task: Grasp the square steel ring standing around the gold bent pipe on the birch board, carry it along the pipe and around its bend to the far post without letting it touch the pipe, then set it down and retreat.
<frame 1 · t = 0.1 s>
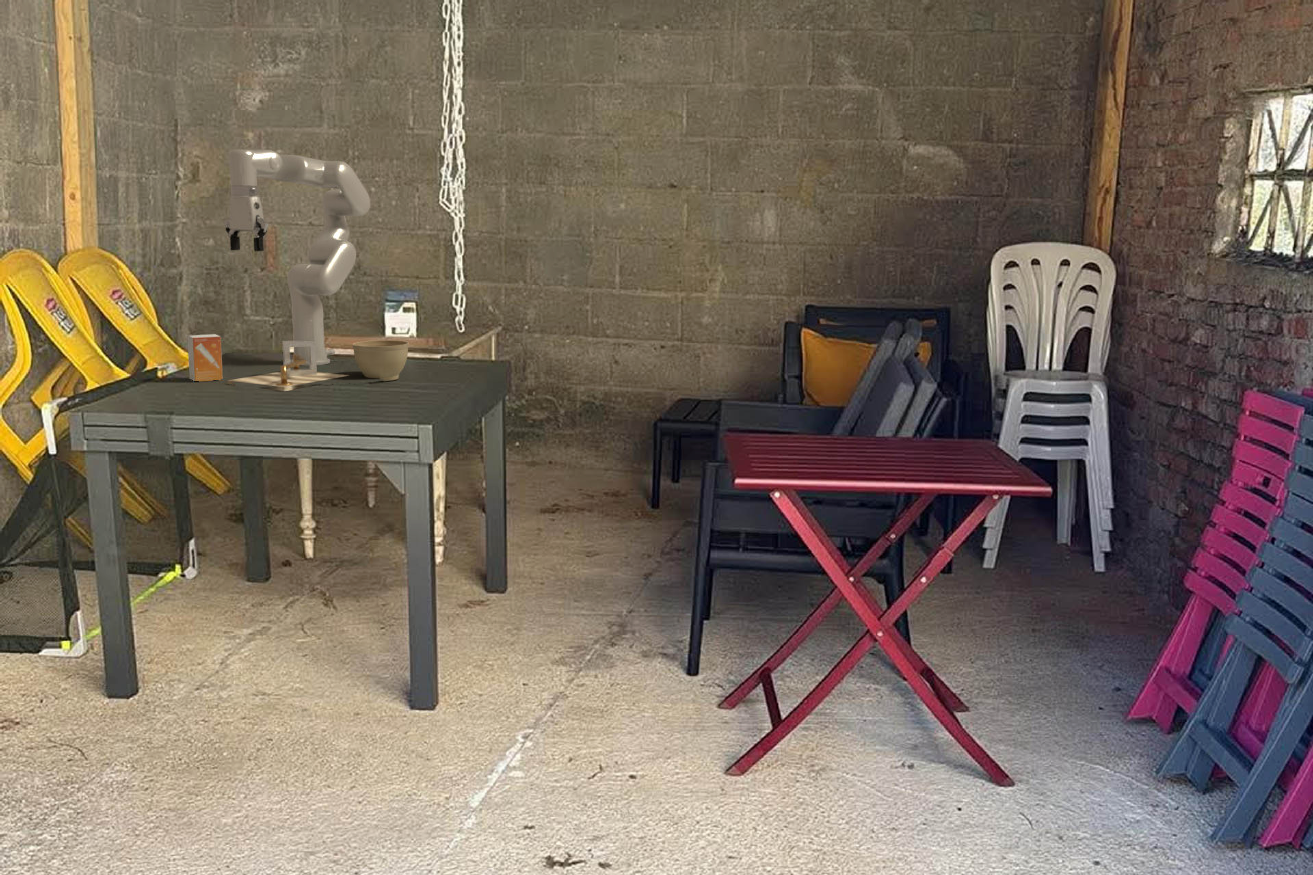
hand: (247, 250, 381), 37 cm above the table, tool pointing down, fingers open, 9 cm apart
planter bowl: (381, 380, 377), on the table
small box: (206, 380, 373), on the table
gold bent pipe: (304, 382, 370), resting on base board
ring: (300, 374, 377), point 1 cm above the table, touching base board
base board: (289, 382, 371), on the table
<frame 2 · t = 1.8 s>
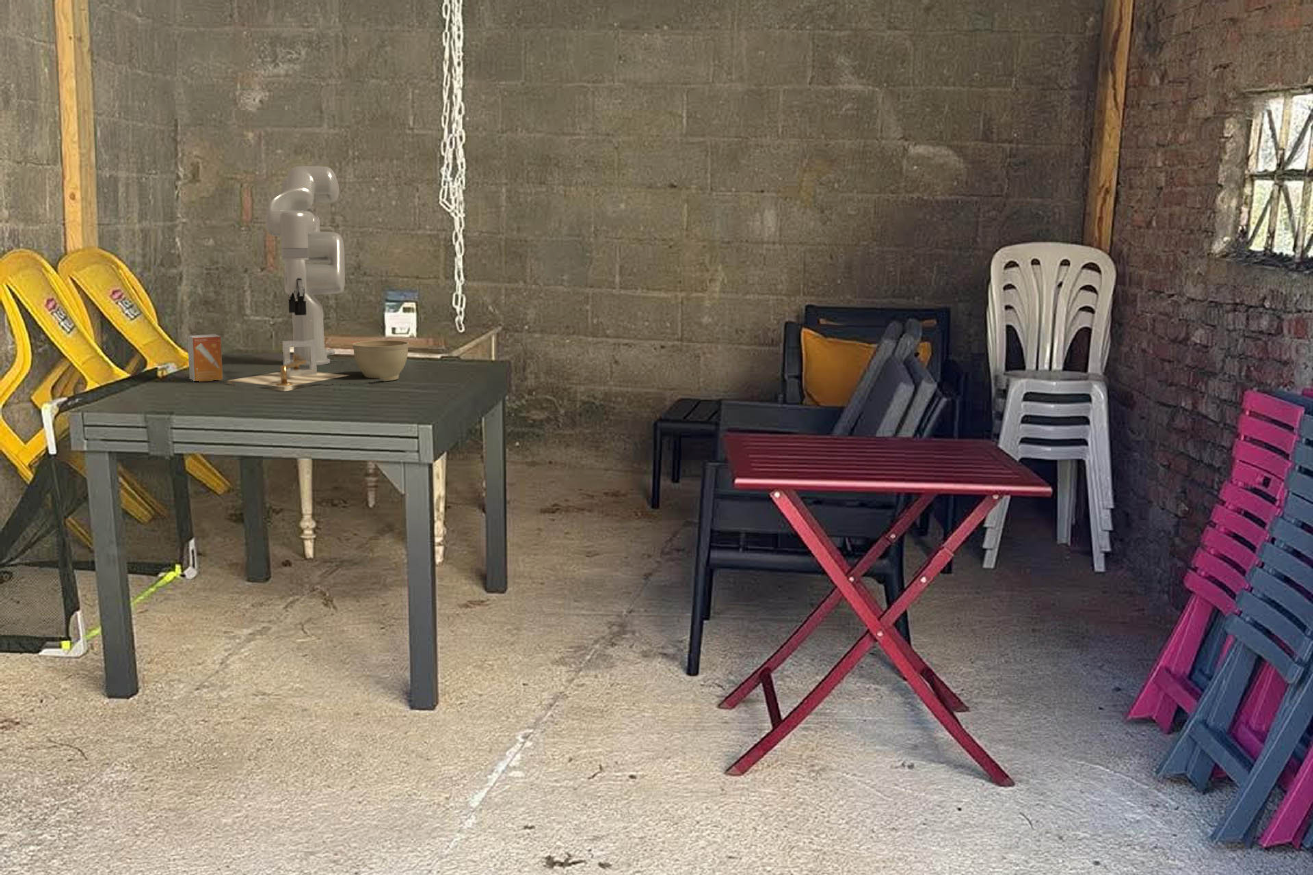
hand: (297, 313, 373), 19 cm above the table, tool pointing down, fingers open, 9 cm apart
nothing on the table moved.
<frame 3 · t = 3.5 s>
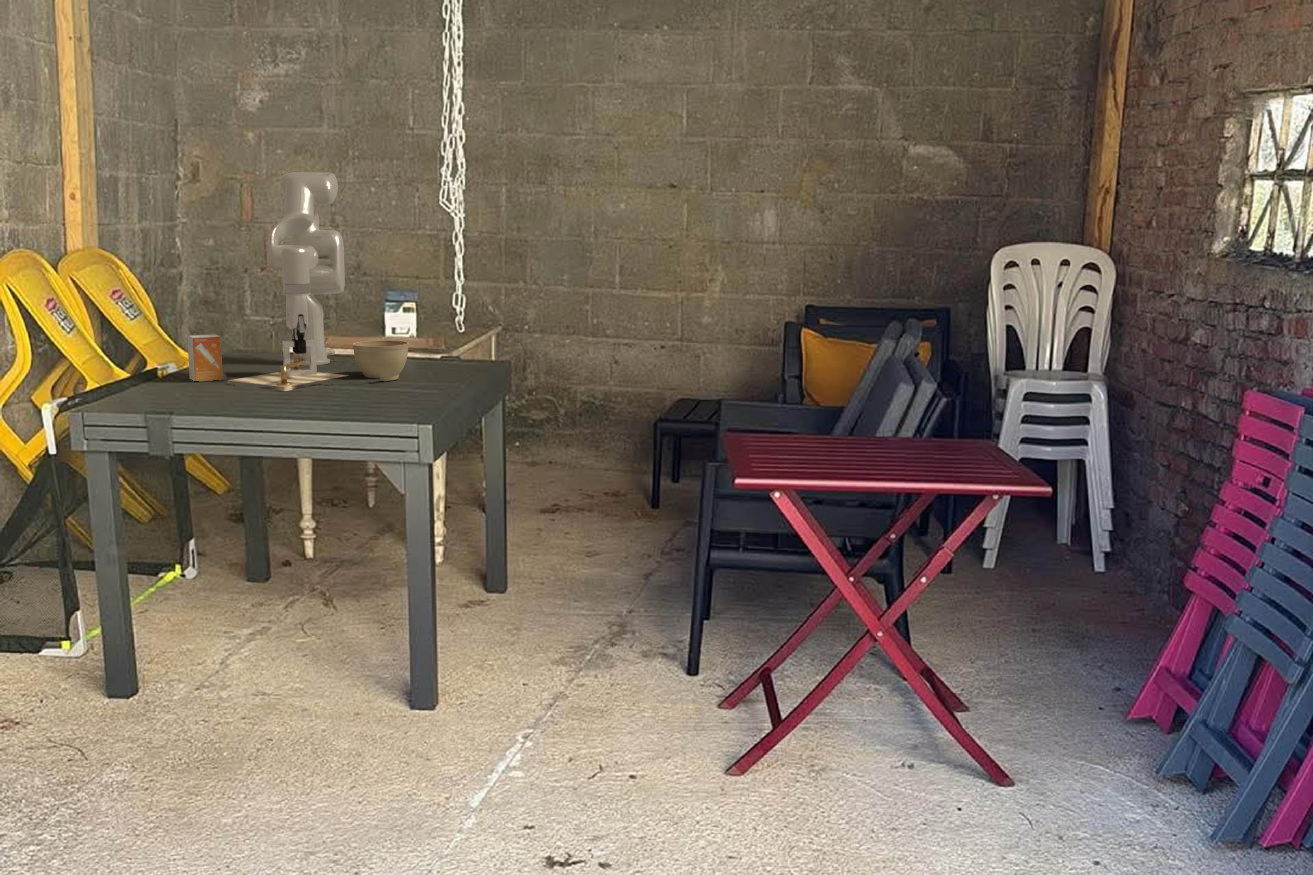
hand: (299, 352, 375), 8 cm above the table, tool pointing down, fingers closed on ring, 3 cm apart
ring: (300, 374, 377), point 1 cm above the table, touching base board, gripper
everything else where it was.
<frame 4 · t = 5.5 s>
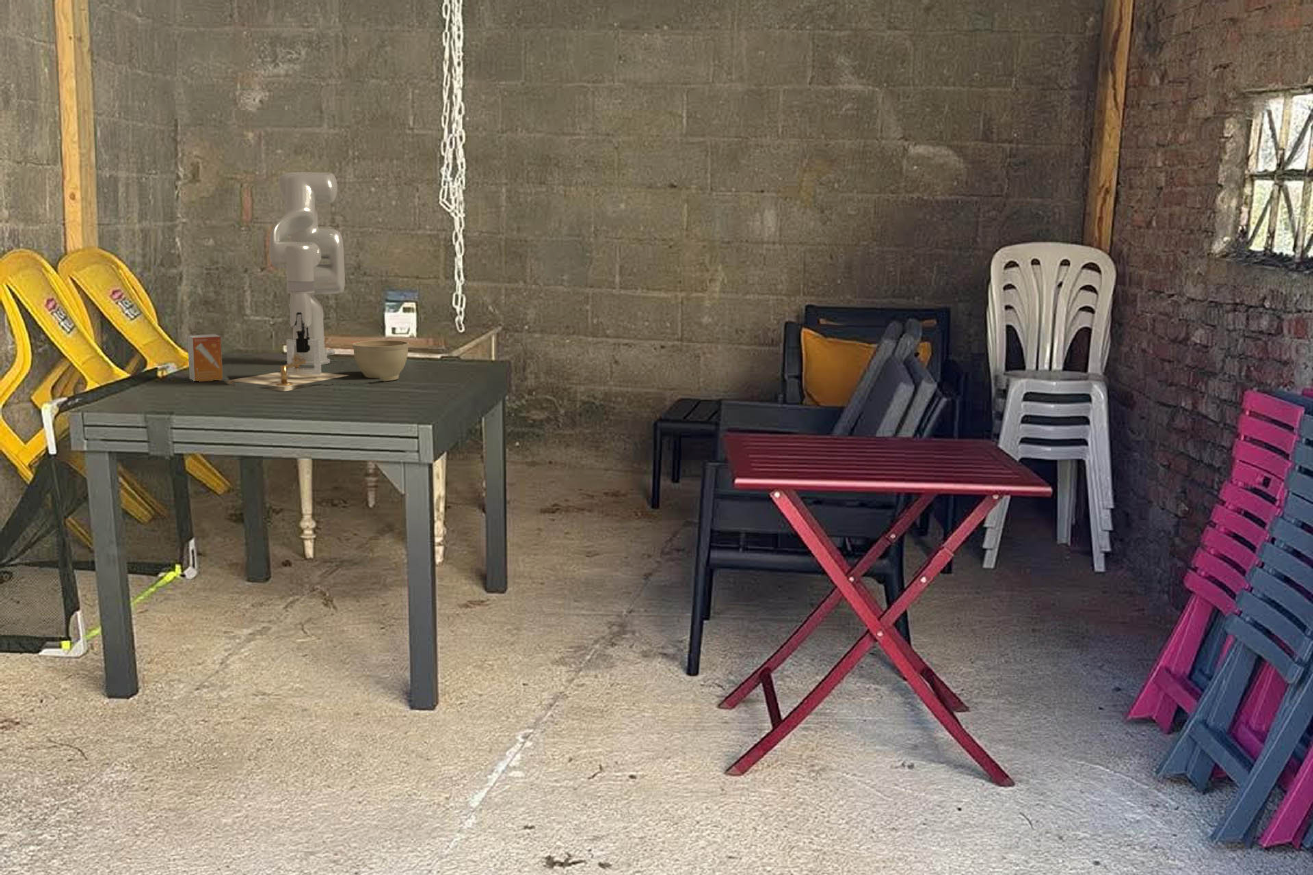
hand: (303, 351, 369), 9 cm above the table, tool pointing down, fingers closed on ring, 3 cm apart
ring: (304, 374, 370), point 2 cm above the table, touching gripper
everything else where it was.
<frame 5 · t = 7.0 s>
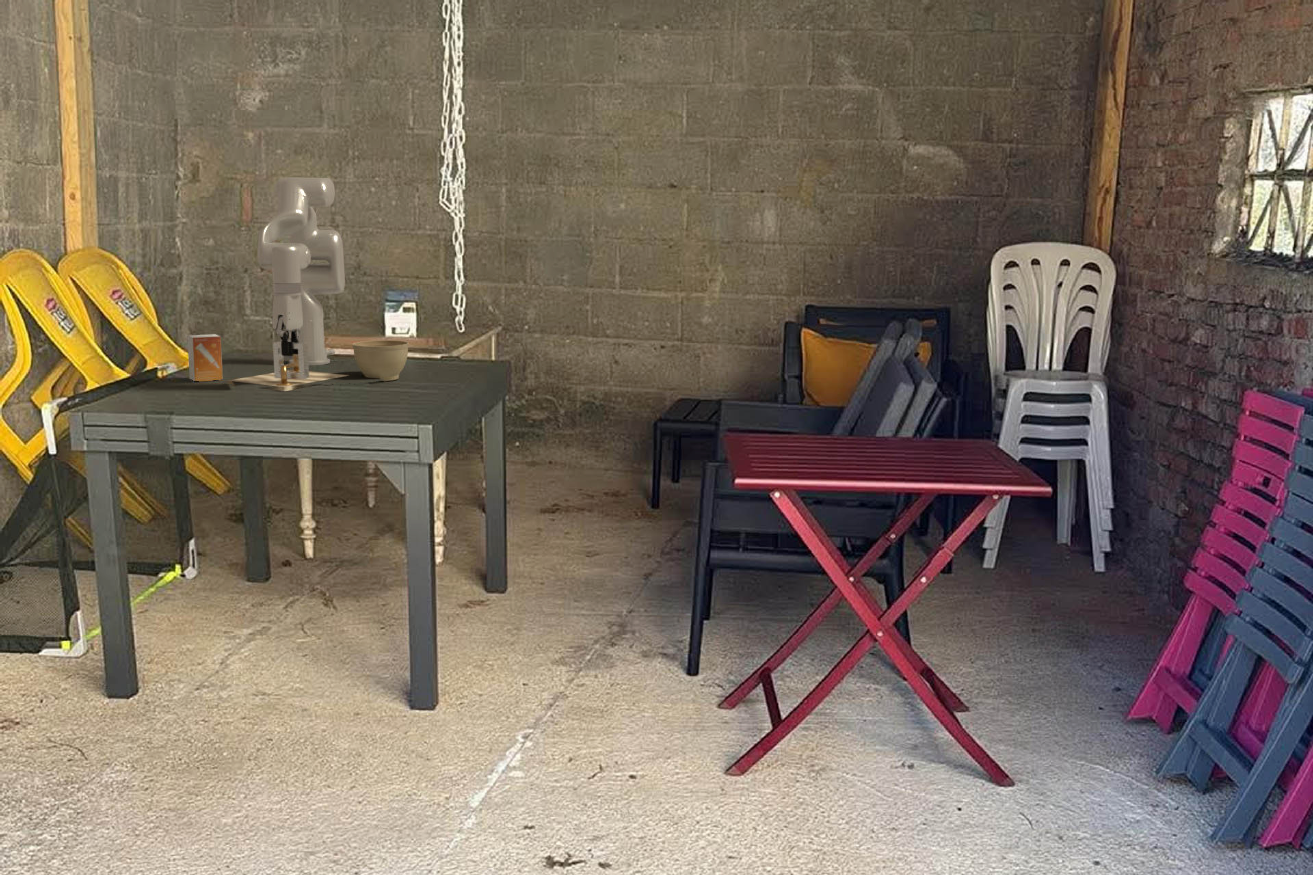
hand: (290, 354, 361), 9 cm above the table, tool pointing down, fingers closed on ring, 3 cm apart
ring: (291, 377, 362), point 2 cm above the table, touching gripper
everything else where it was.
when the fingers open (8 cm above the table, at t = 7.7 s): ring stays where it is, resting on base board.
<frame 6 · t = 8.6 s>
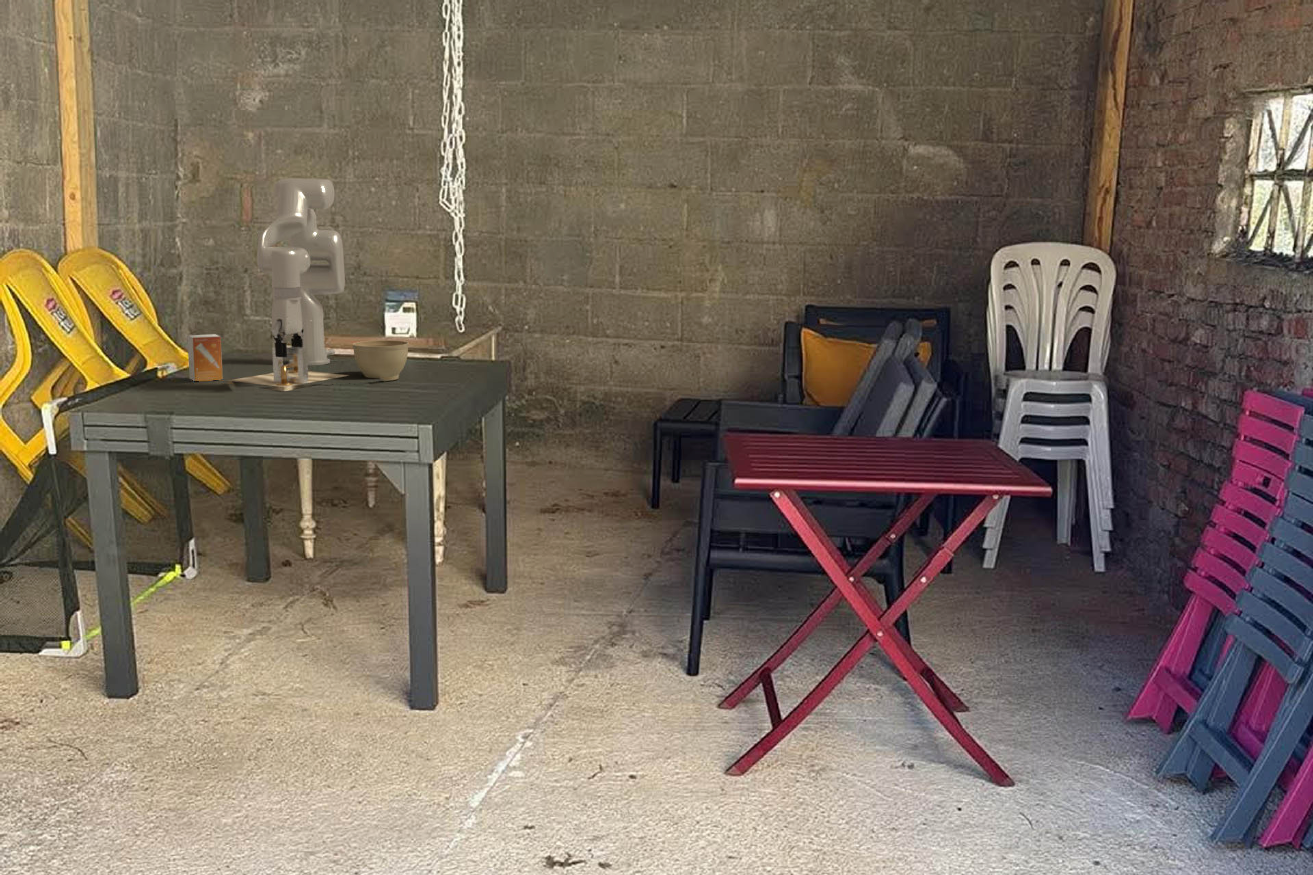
hand: (289, 354, 360), 9 cm above the table, tool pointing down, fingers open, 9 cm apart
ring: (291, 382, 362), point 1 cm above the table, touching base board
everything else where it was.
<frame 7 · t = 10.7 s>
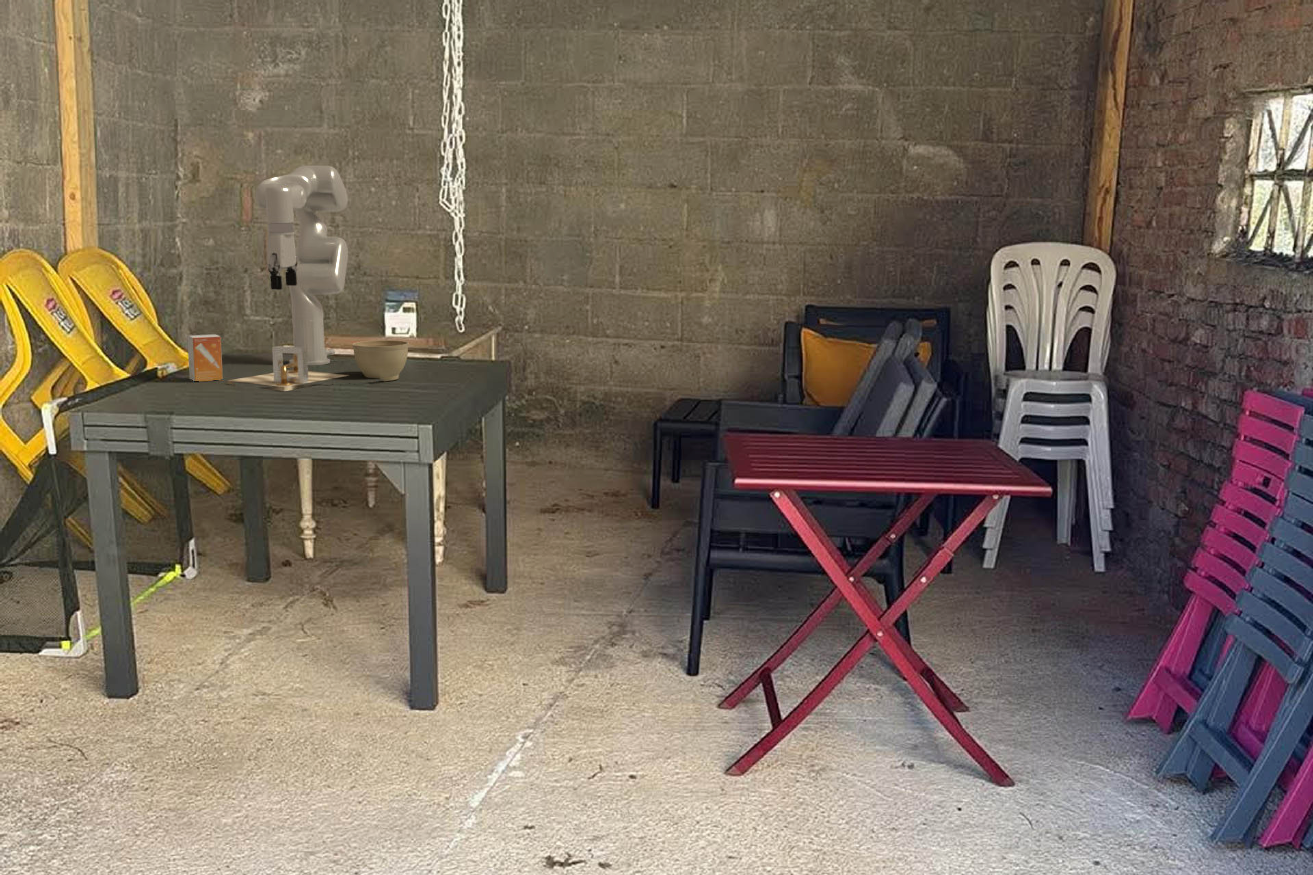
hand: (284, 287, 378), 26 cm above the table, tool pointing down, fingers open, 9 cm apart
nothing on the table moved.
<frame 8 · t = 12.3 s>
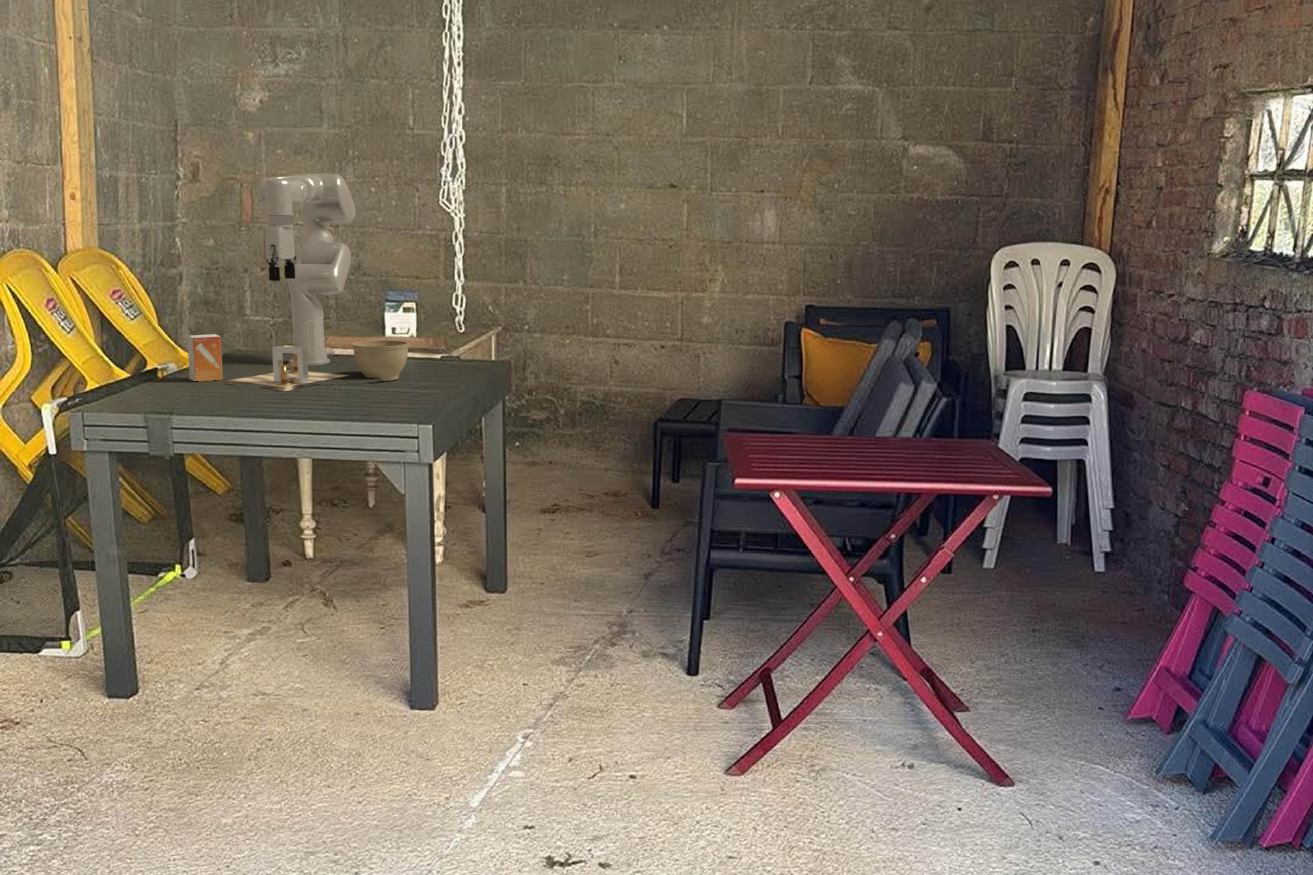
hand: (282, 279, 382), 28 cm above the table, tool pointing down, fingers open, 9 cm apart
nothing on the table moved.
at the end: ring inside the target area (0.2 cm from its centre), point 1.2 cm above the table; ring touching base board; the gripper is holding nothing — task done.
